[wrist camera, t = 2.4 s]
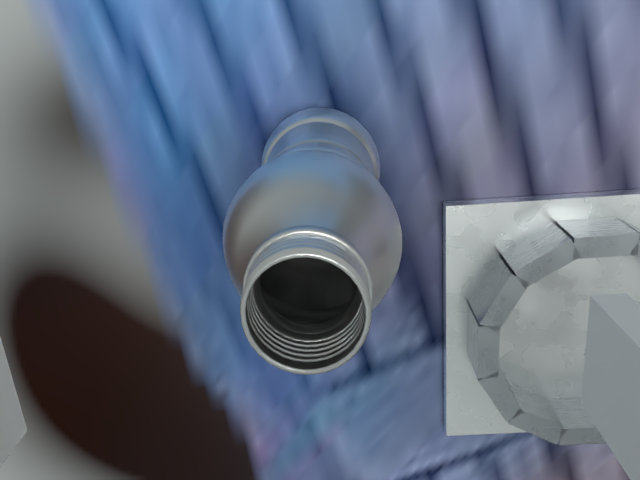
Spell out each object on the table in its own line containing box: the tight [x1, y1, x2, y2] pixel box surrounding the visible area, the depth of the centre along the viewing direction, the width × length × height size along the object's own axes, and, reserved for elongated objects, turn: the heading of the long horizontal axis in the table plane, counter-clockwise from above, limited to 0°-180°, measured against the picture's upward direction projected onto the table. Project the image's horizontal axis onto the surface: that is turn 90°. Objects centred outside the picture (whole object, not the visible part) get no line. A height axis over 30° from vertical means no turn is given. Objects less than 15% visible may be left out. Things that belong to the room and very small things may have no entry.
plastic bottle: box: [222, 107, 402, 375], centre depth 25 cm, size 6×7×20 cm
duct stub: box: [443, 189, 640, 445], centre depth 36 cm, size 16×16×4 cm
